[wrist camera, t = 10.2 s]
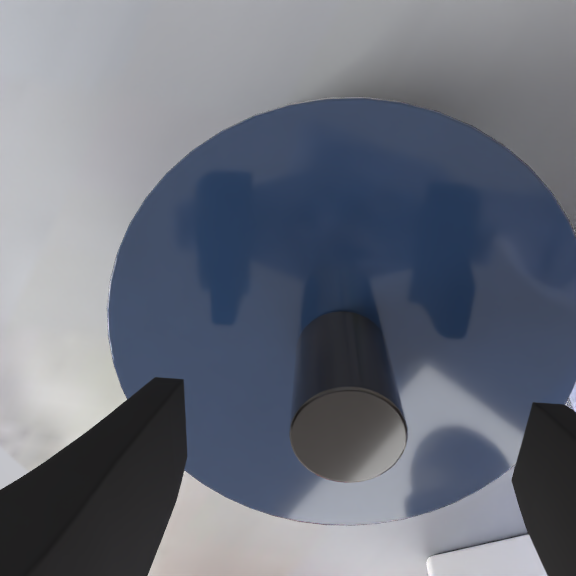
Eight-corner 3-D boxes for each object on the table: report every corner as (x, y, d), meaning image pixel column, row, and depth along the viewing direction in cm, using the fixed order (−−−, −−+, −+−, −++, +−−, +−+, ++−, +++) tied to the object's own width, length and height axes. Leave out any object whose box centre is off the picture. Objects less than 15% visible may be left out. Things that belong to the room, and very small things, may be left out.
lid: (623, 417, 15) (743, 552, 11) (255, 543, 18) (235, 689, 14) (477, -14, 11) (575, -67, 7) (31, 237, 14) (-96, 310, 10)
